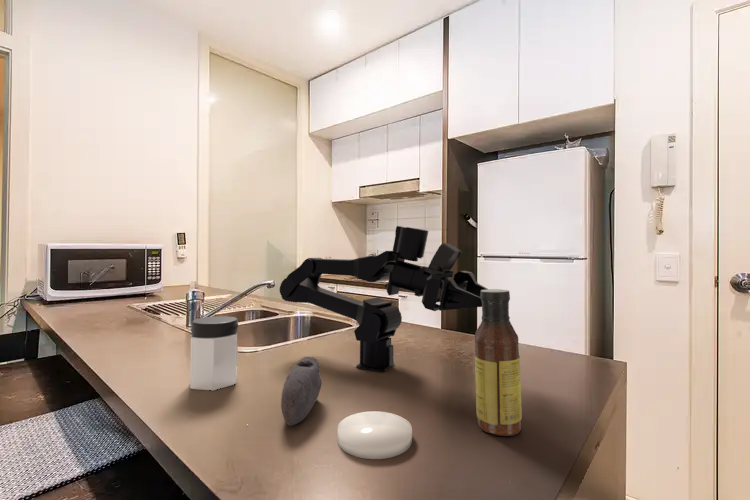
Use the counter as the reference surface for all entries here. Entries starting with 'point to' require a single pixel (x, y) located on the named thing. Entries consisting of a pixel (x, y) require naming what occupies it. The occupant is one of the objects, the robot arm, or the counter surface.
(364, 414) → the coaster
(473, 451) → the counter surface
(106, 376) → the counter surface
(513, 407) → the sauce bottle
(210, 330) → the jar
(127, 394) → the counter surface
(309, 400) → the perforated stone tool
